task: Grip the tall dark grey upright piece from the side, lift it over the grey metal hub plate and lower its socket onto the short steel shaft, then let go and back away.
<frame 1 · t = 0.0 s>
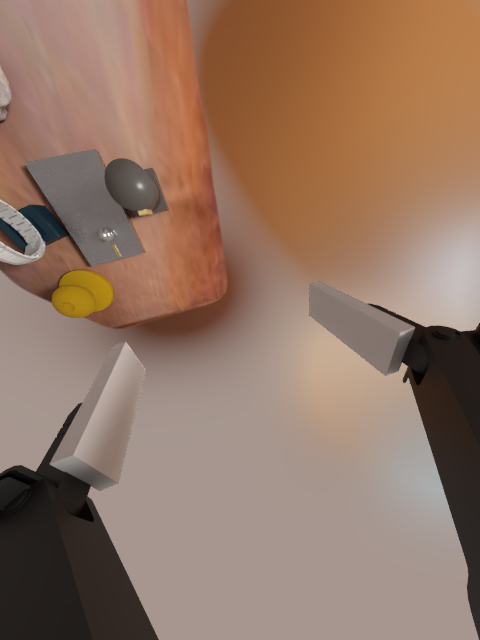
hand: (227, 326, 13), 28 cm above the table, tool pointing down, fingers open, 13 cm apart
doorknob: (89, 290, 35), on the table
hub plate: (96, 214, 29), on the table
dark grey upright piece: (146, 195, 30), on the table
watch: (41, 227, 29), on the table
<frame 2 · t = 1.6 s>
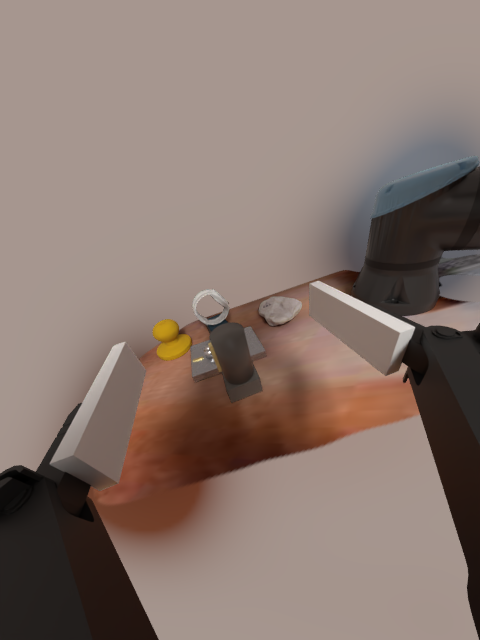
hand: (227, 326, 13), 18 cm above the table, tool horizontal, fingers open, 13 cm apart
doorknob: (176, 348, 43), on the table
fossil: (281, 319, 44), on the table
hub plate: (226, 353, 38), on the table
dark grey upright piece: (242, 383, 31), on the table
watch: (219, 332, 45), on the table
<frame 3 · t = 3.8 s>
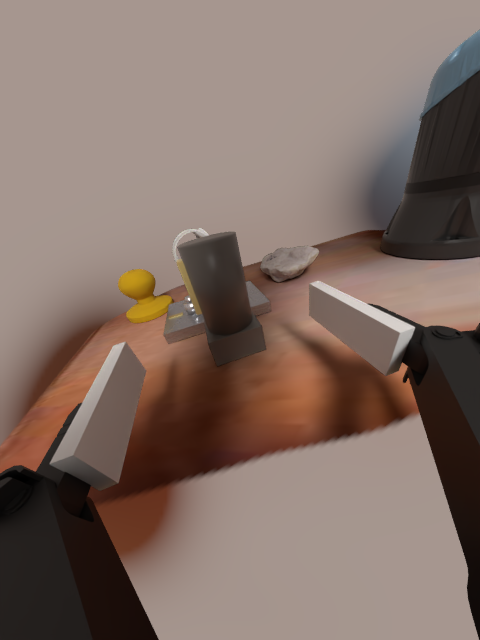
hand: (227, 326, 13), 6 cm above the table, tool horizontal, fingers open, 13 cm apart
doorknob: (152, 311, 33), on the table
fossil: (289, 276, 34), on the table
hub plate: (216, 311, 28), on the table
dark grey upright piece: (235, 342, 21), on the table
watch: (210, 293, 35), on the table
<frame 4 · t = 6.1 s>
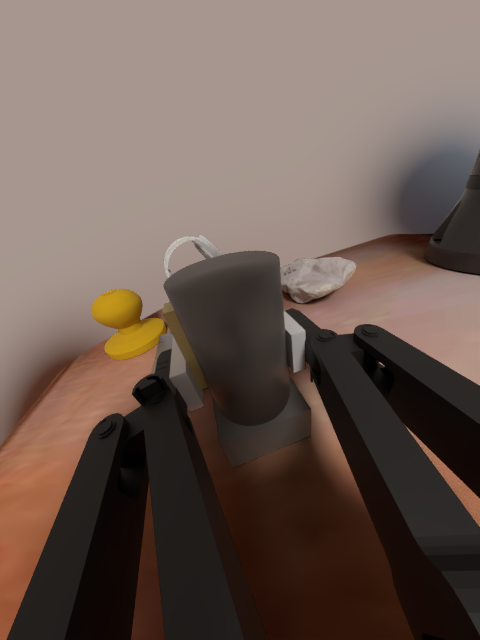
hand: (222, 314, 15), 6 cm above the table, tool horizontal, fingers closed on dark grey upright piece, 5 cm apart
doorknob: (140, 340, 26), on the table
fossil: (313, 294, 27), on the table
dark grey upright piece: (258, 413, 13), on the table, touching gripper
watch: (213, 315, 28), on the table
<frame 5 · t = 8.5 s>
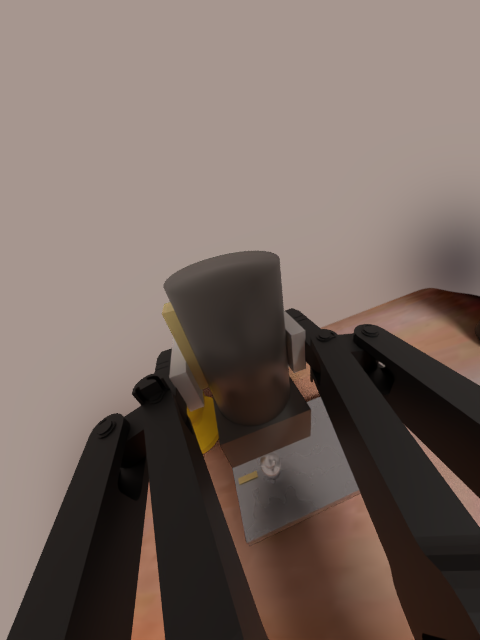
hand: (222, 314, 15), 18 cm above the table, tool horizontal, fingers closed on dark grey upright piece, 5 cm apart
doorknob: (197, 426, 26), on the table
hub plate: (296, 457, 21), on the table
dark grey upright piece: (258, 413, 13), point 12 cm above the table, touching gripper
when the fingers open (8 cm above the table, at t = 10.8 s): dark grey upright piece stays where it is, resting on hub plate.
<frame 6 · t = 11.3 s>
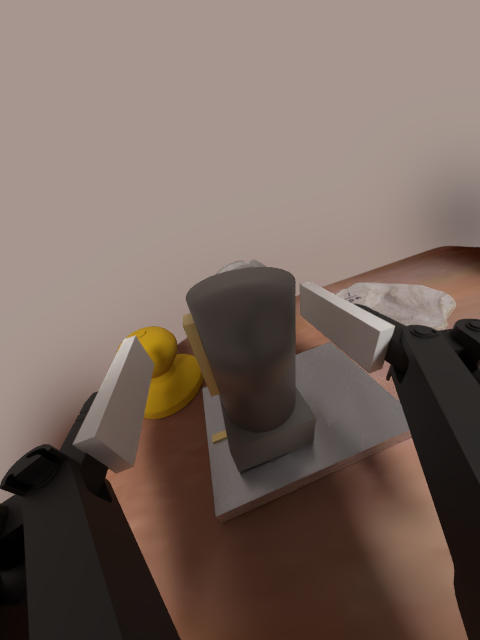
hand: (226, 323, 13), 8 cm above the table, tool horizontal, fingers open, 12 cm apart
doorknob: (171, 386, 21), on the table
fossil: (380, 327, 22), on the table
hub plate: (291, 412, 16), on the table
dark grey upright piece: (262, 419, 14), point 2 cm above the table, touching hub plate
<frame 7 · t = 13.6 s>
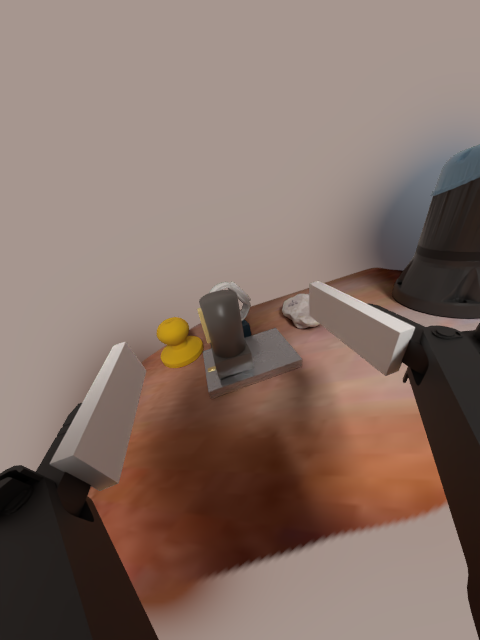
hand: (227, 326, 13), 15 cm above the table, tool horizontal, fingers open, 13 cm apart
doorknob: (183, 353, 36), on the table
fossil: (309, 321, 37), on the table
hub plate: (249, 361, 30), on the table
dark grey upright piece: (232, 361, 29), point 2 cm above the table, touching hub plate
watch: (236, 335, 37), on the table
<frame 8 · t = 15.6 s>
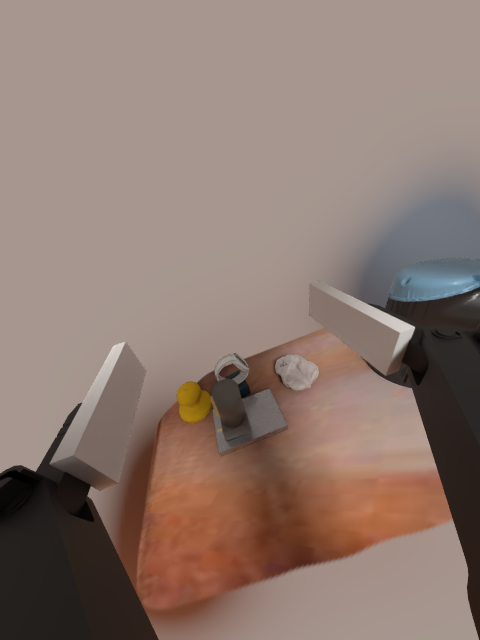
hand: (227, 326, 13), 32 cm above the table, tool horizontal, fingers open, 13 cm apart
doorknob: (196, 407, 45), on the table
fossil: (297, 378, 46), on the table
hub plate: (248, 420, 39), on the table
dark grey upright piece: (235, 423, 38), point 2 cm above the table, touching hub plate
watch: (238, 389, 47), on the table
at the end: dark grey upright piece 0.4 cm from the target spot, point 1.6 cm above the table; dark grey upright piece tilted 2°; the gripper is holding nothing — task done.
